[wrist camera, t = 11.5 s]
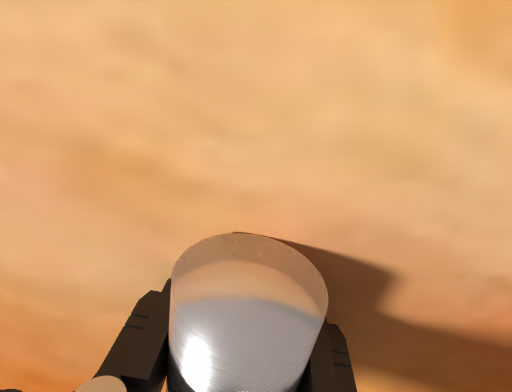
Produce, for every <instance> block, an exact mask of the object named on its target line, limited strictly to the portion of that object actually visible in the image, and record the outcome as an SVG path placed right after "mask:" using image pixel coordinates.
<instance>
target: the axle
mask: <svg viewBox="0 0 512 392" xmlns="http://www.w3.org/2000/svg"><path fill="white" fill-rule="evenodd" d="M328 303H329V301H328V291H327V287H326V284H325V282H324V280H323V278H322V276H321V274H320V273H319V271H318V270H317V268H316V267H315V266H314V265H313V264H312V263H311V262H310V261H309V260H308V259H307V258H306V257H305V256H304V255H302V254H301V253H300V252H298V251H297V250H295V249H293V248H292V247H290V246H288V245H286V244H284V243H282V242H279V241H277V240H274V239H271V238H268V237H264V236H260V235H254V234H246V233H230V234H222V235H217V236H213V237H210V238H207V239H204V240H202V241H200V242H198V243H196V244H194V245H193V246H191V247H190V248H189V249H187V250H186V251H185V252H184V253H183V254H182V255H181V256H180V258H179V259H178V261H177V262H176V264H175V266H174V269H173V272H172V277H171V296H170V317H169V339H168V361H167V383H166V392H296V391H297V389H298V386H299V383H300V381H301V378H302V376H303V373H304V370H305V368H306V365H307V363H308V360H309V358H310V355H311V352H312V350H313V347H314V345H315V342H316V339H317V337H318V334H319V332H320V329H321V326H322V324H323V321H324V319H325V316H326V313H327V310H328Z"/></svg>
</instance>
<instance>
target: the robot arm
mask: <svg viewBox="0 0 512 392" xmlns="http://www.w3.org/2000/svg"><path fill="white" fill-rule="evenodd" d="M170 296H171V278H169V279H168V280H167V282H166V284H165V286H164V288H163V290H162V292H158V291H152V290H150V291H149V292H148V293H147V294H146V295H144V296H143V297H142V298H141V299H140V300H139V301H138V302H137V304H136V306H135V308H134V309H133V311H132V313H131V316H129V318H128V320H127V322H126V323H125V326H124V327H123V329H122V330H121V332H120V334H119V336H118V337H117V339H116V341H115V343H114V344H113V346H112V348H111V350H110V351H109V353H108V355H107V357H106V358H105V360H104V362H103V363H102V365H101V367H100V369H99V370H98V372H97V373H96V374H95V376H94V377H93V378H92V379H91V380H89V381H87V382H85V383H84V384H83V385H81V386H80V387H79V388H78V389H77V390H75V391H73V392H161V390H162V387H163V384H164V381H165V379H166V376H167V361H168V339H169V317H170ZM348 354H349V352H348V348H347V343H346V339H345V337H344V335H343V334H342V332H341V331H340V329H339V327H338V326H337V325H336V324H330V323H327V319H326V316H325V319H324V321H323V324H322V326H321V329H320V332H319V334H318V337H317V339H316V342H315V345H314V347H313V350H312V352H311V355H310V358H309V360H308V363H307V365H306V368H305V370H304V373H303V376H302V378H301V381H300V383H299V386H298V389H297V391H296V392H357V389H356V385H355V380H354V375H353V371H352V369H351V362H350V357H349V356H348ZM0 392H22V391H20V390H17V389H5V390H0Z"/></svg>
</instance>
